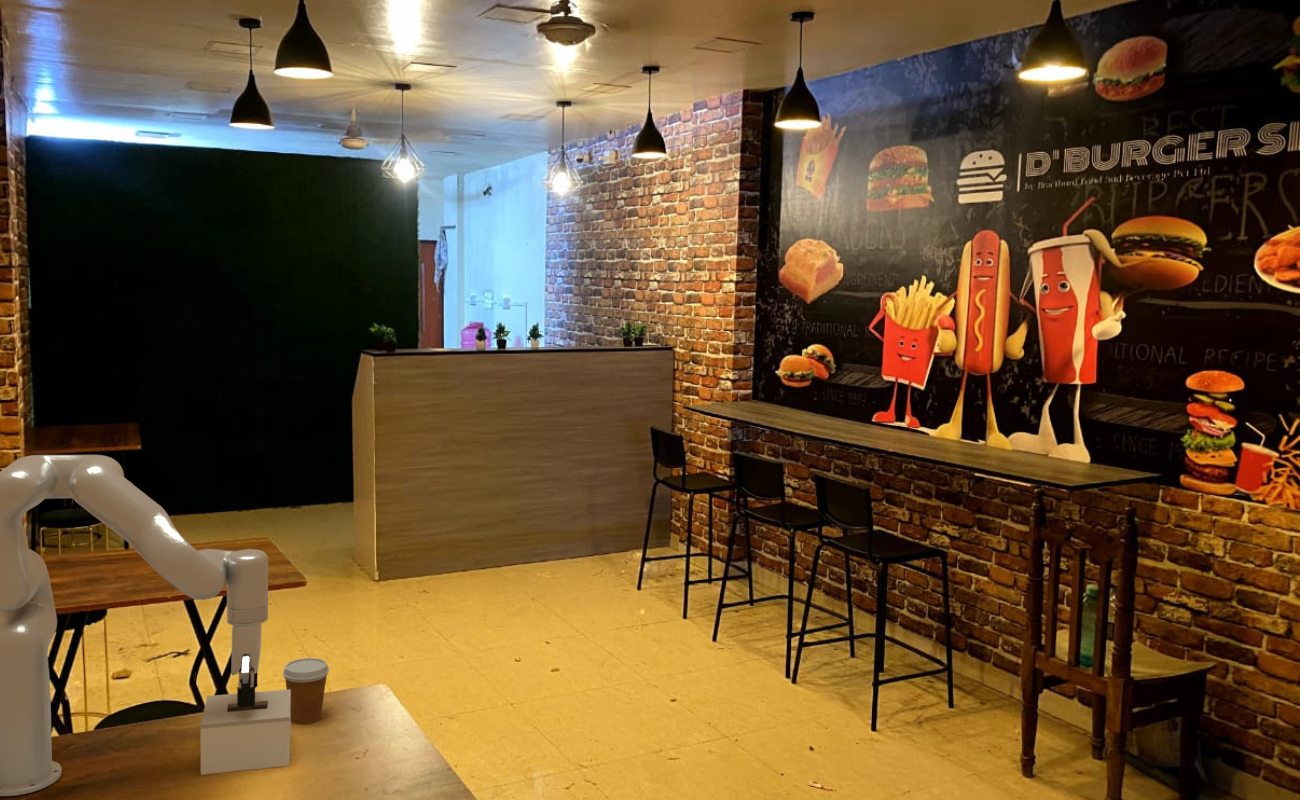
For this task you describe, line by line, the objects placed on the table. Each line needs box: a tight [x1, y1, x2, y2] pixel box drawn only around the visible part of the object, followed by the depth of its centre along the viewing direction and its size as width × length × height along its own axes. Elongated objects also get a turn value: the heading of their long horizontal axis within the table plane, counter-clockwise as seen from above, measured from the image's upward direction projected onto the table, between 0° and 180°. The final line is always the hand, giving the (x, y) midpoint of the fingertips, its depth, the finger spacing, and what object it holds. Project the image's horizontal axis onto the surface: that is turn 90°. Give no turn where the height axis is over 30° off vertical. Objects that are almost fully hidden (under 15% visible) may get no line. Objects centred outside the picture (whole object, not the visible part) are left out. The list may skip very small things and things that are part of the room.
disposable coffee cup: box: [282, 657, 330, 725], centre depth 222 cm, size 10×10×12 cm
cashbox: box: [200, 689, 292, 775], centre depth 204 cm, size 16×14×10 cm
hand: (247, 696), depth 203 cm, fingers open, 9 cm apart
